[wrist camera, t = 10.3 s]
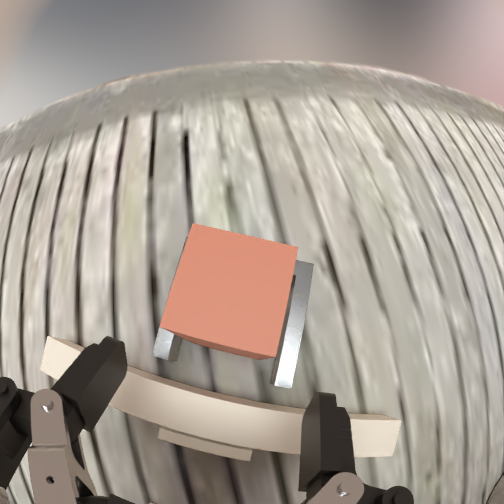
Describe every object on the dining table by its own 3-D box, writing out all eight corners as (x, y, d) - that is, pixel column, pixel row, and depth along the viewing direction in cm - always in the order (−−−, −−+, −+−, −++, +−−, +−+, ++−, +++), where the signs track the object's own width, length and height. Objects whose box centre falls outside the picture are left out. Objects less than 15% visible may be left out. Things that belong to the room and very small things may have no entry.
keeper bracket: (305, 275, 21) (313, 263, 18) (284, 385, 18) (291, 388, 15) (192, 250, 21) (186, 236, 19) (162, 356, 18) (152, 355, 16)
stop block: (273, 297, 20) (298, 247, 12) (259, 359, 18) (275, 357, 10) (211, 282, 20) (192, 223, 12) (194, 343, 19) (159, 326, 10)
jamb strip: (381, 414, 17) (401, 420, 14) (342, 534, 13) (354, 551, 10) (69, 340, 18) (47, 335, 15) (50, 461, 14) (30, 468, 11)
